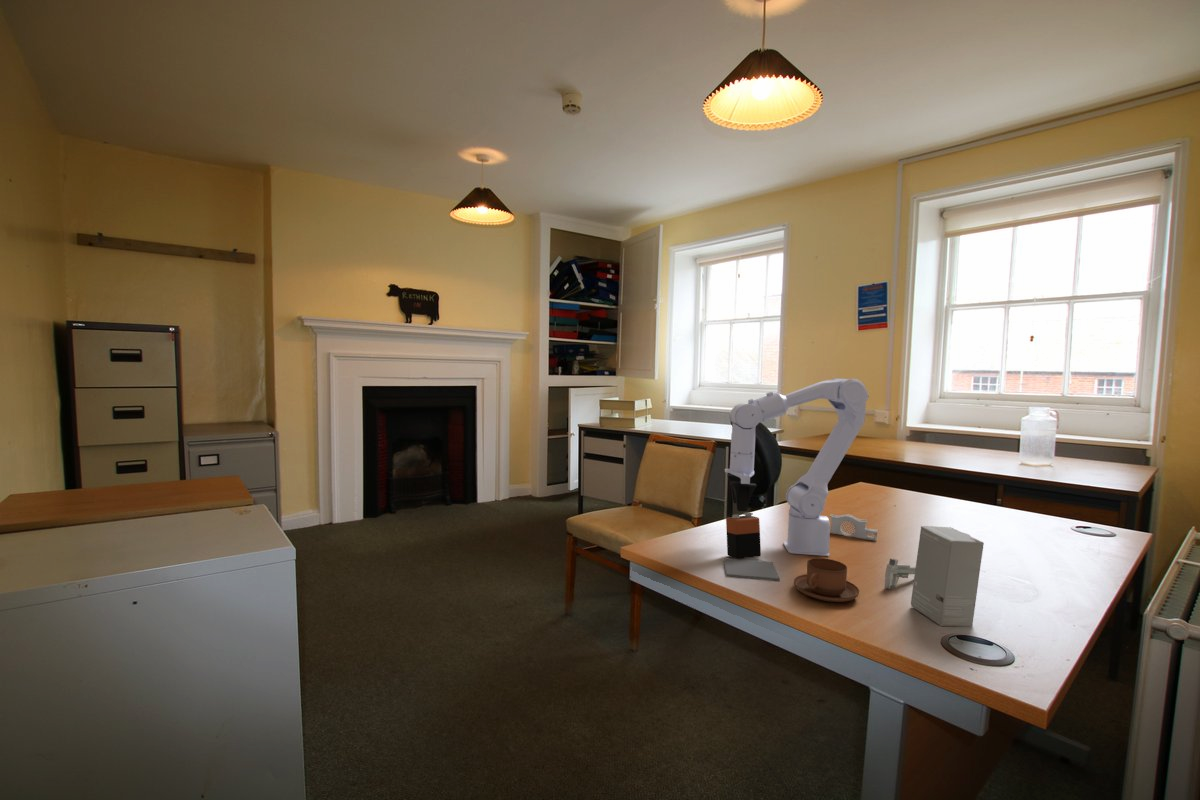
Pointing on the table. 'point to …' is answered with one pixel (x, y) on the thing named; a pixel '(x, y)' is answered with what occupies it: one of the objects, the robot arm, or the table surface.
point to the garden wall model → (857, 523)
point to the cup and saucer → (826, 581)
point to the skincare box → (947, 575)
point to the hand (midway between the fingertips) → (739, 507)
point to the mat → (750, 569)
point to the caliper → (896, 573)
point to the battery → (743, 536)
